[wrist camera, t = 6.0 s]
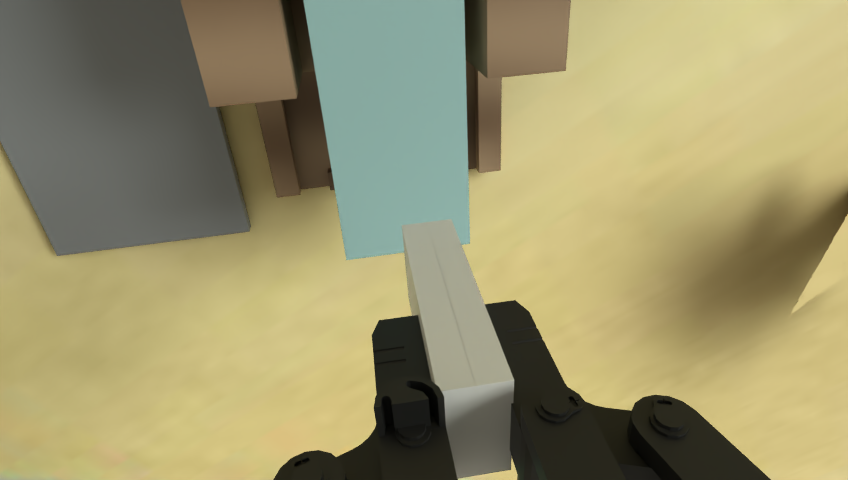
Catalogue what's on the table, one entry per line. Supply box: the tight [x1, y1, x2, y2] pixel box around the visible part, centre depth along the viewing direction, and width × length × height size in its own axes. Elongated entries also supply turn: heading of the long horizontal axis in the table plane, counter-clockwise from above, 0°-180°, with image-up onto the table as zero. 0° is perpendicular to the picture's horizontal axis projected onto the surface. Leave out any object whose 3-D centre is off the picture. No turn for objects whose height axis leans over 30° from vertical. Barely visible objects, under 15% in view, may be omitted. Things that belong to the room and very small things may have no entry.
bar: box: [303, 0, 470, 260], centre depth 19 cm, size 14×5×4 cm, turn 4°
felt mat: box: [0, 0, 251, 256], centre depth 24 cm, size 16×10×1 cm, turn 4°
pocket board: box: [181, 0, 571, 197], centre depth 21 cm, size 18×12×9 cm
